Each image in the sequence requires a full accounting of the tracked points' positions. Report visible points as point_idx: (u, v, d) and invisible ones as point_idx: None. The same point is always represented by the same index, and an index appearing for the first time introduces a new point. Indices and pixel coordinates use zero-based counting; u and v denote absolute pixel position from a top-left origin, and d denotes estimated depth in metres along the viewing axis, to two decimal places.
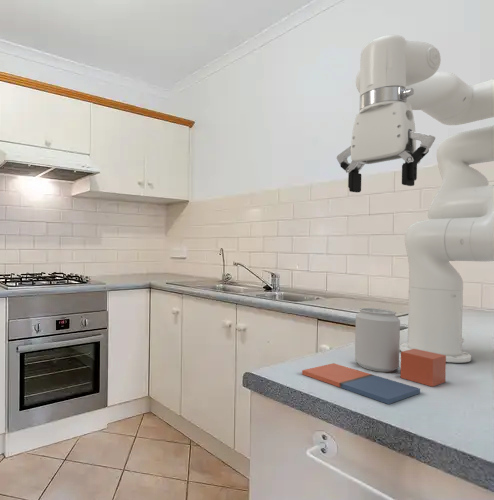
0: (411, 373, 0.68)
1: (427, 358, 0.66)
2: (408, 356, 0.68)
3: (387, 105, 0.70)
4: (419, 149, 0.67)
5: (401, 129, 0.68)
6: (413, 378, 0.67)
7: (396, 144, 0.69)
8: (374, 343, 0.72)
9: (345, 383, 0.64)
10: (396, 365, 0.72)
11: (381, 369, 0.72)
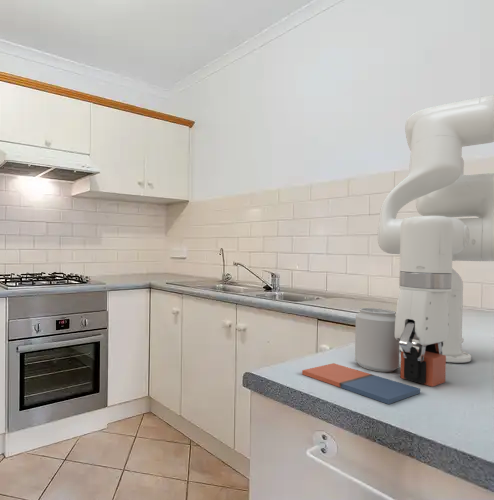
0: None
1: (427, 358, 0.66)
2: None
3: (446, 291, 0.67)
4: (442, 344, 0.70)
5: (448, 318, 0.68)
6: None
7: (447, 332, 0.68)
8: (374, 343, 0.72)
9: (345, 383, 0.64)
10: (396, 365, 0.72)
11: (381, 369, 0.72)
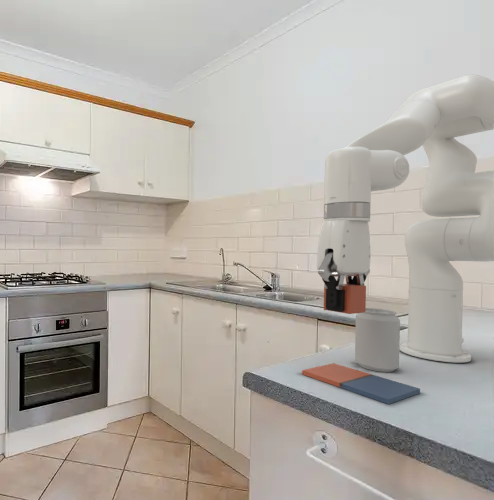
0: None
1: (346, 286, 0.67)
2: None
3: (366, 222, 0.68)
4: (364, 277, 0.71)
5: None
6: None
7: (368, 264, 0.69)
8: (374, 343, 0.72)
9: (345, 383, 0.64)
10: (396, 365, 0.72)
11: (381, 369, 0.72)
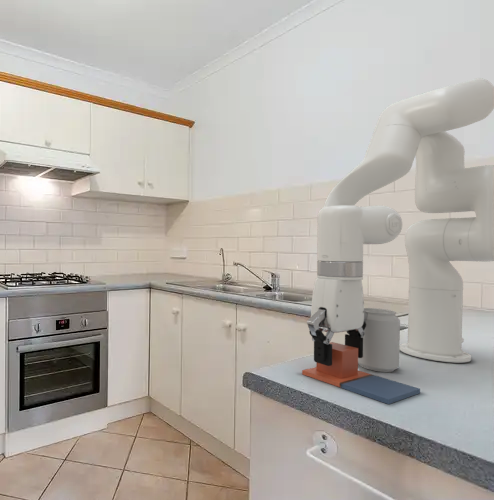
0: (325, 365, 0.69)
1: (338, 351, 0.67)
2: None
3: (359, 279, 0.68)
4: (364, 324, 0.72)
5: (363, 305, 0.70)
6: (326, 370, 0.69)
7: (361, 319, 0.69)
8: (374, 343, 0.72)
9: (345, 383, 0.64)
10: (396, 365, 0.72)
11: (381, 369, 0.72)
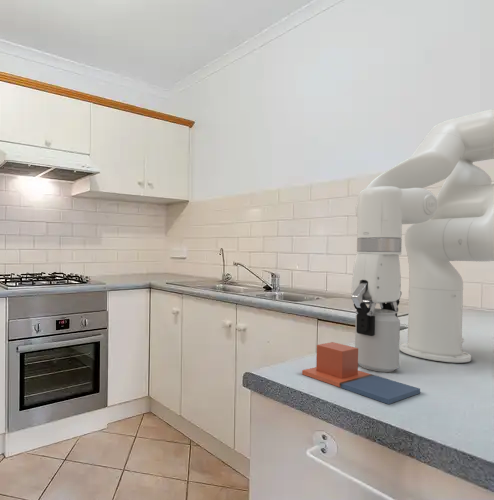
0: (325, 365, 0.69)
1: (338, 351, 0.67)
2: (322, 348, 0.69)
3: (397, 255, 0.74)
4: (398, 301, 0.77)
5: (400, 280, 0.75)
6: (326, 370, 0.69)
7: (398, 293, 0.75)
8: (374, 343, 0.72)
9: (345, 383, 0.64)
10: (396, 365, 0.72)
11: (381, 369, 0.72)
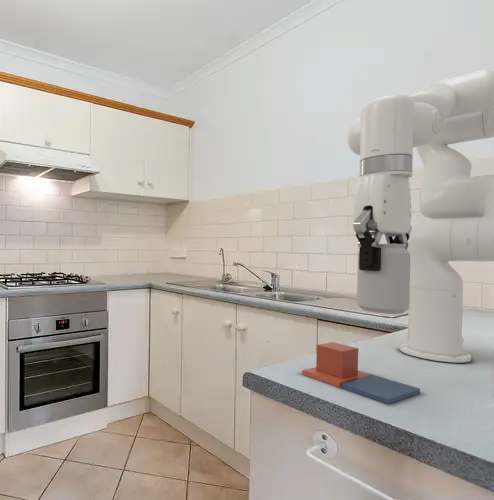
0: (325, 365, 0.69)
1: (338, 351, 0.67)
2: (322, 348, 0.69)
3: (407, 178, 0.63)
4: (408, 236, 0.66)
5: (410, 209, 0.64)
6: (326, 370, 0.69)
7: (408, 224, 0.64)
8: (380, 280, 0.61)
9: (345, 383, 0.64)
10: (406, 305, 0.61)
11: (388, 310, 0.61)
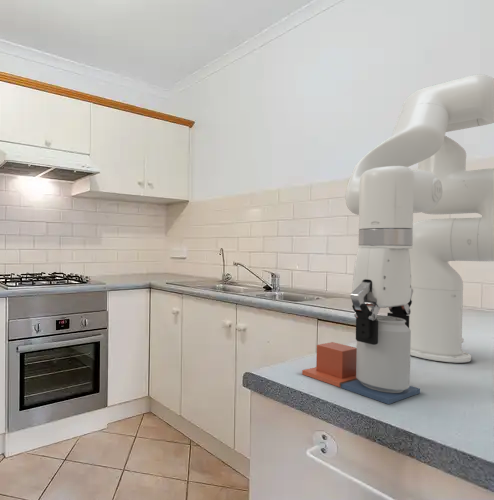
0: (325, 365, 0.69)
1: (338, 351, 0.67)
2: (322, 348, 0.69)
3: (407, 249, 0.61)
4: (410, 302, 0.65)
5: (411, 279, 0.63)
6: (326, 370, 0.69)
7: (409, 295, 0.62)
8: (380, 358, 0.60)
9: (345, 383, 0.64)
10: (406, 385, 0.59)
11: (388, 390, 0.60)
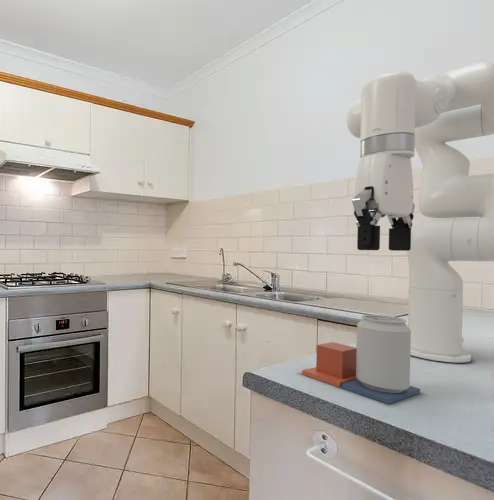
0: (325, 365, 0.69)
1: (338, 351, 0.67)
2: (322, 348, 0.69)
3: (409, 158, 0.61)
4: (412, 216, 0.65)
5: (412, 190, 0.63)
6: (326, 370, 0.69)
7: (410, 205, 0.62)
8: (380, 358, 0.60)
9: (345, 383, 0.64)
10: (406, 385, 0.59)
11: (388, 390, 0.60)
